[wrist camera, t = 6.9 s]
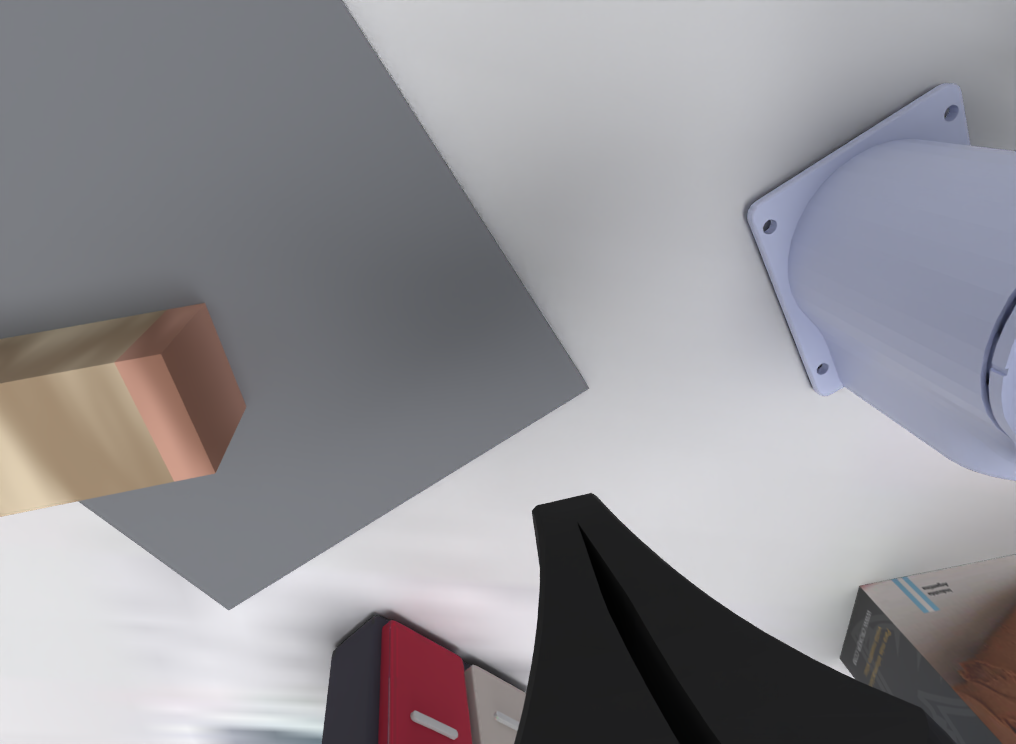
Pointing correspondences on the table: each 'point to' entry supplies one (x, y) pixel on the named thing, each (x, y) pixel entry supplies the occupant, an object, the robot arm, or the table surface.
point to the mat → (264, 262)
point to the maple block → (113, 407)
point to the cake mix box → (943, 646)
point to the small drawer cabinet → (414, 693)
